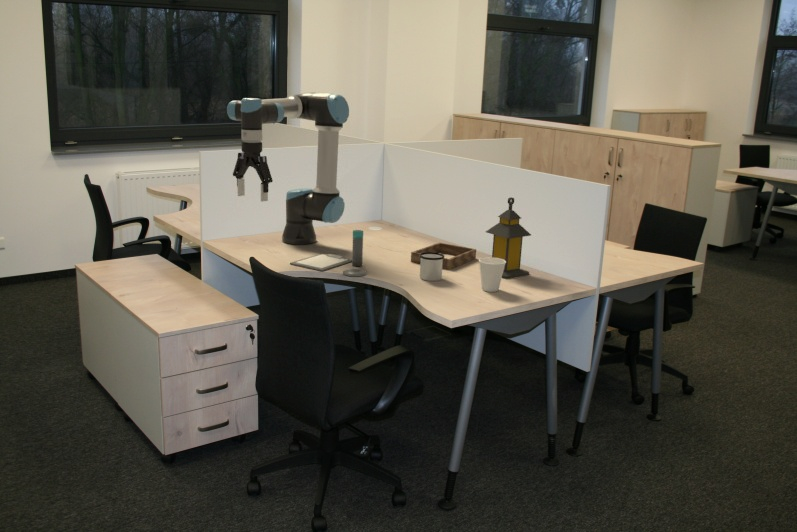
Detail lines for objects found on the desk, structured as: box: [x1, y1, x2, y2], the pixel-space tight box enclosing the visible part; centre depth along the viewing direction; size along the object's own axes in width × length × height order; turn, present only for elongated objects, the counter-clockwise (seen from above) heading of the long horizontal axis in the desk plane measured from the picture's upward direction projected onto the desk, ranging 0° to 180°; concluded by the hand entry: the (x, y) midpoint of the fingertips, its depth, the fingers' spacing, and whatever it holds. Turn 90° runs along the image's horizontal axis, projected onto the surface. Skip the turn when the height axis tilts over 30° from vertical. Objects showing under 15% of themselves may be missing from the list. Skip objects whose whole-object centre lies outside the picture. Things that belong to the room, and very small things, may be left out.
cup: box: [478, 256, 506, 293], centre depth 270 cm, size 10×10×11 cm
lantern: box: [485, 197, 532, 280], centre depth 292 cm, size 14×14×30 cm
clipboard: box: [289, 253, 352, 272], centre depth 298 cm, size 20×16×1 cm
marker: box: [351, 229, 364, 268], centre depth 294 cm, size 4×4×14 cm
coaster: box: [342, 268, 367, 278], centre depth 285 cm, size 9×9×1 cm
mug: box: [419, 252, 445, 282], centre depth 283 cm, size 12×10×9 cm
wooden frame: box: [410, 242, 477, 270], centre depth 310 cm, size 23×18×4 cm
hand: (252, 198), depth 279 cm, fingers open, 13 cm apart
